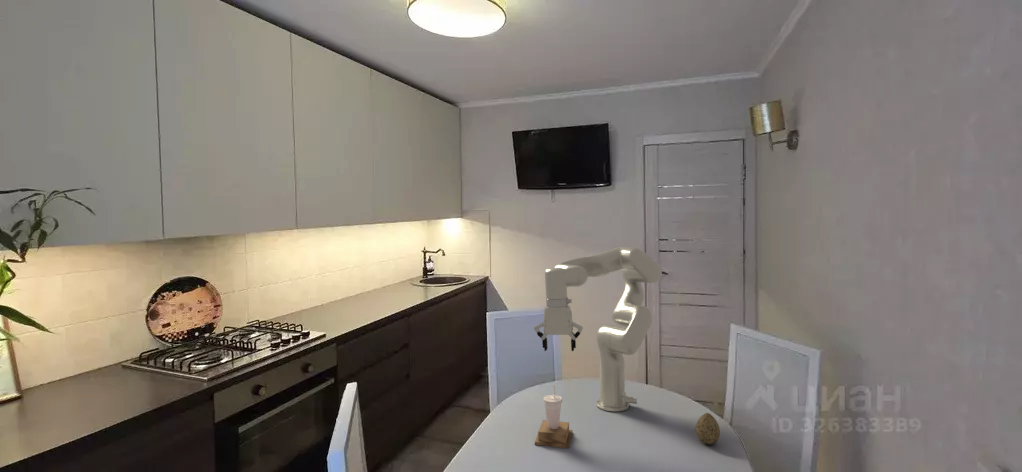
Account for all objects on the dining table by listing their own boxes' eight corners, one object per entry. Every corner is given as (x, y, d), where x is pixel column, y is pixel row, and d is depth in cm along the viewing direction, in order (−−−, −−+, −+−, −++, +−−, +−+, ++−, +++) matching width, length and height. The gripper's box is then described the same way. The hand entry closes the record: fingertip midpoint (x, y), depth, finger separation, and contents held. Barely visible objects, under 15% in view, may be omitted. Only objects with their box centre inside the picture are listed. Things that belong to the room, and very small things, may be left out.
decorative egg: (716, 439, 152) (716, 409, 152) (722, 449, 145) (722, 418, 145) (693, 437, 153) (693, 408, 153) (698, 448, 146) (698, 417, 146)
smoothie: (561, 431, 151) (561, 389, 150) (542, 430, 152) (541, 388, 152) (563, 423, 157) (563, 382, 157) (544, 421, 158) (544, 381, 158)
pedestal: (572, 432, 159) (572, 421, 158) (568, 448, 148) (568, 436, 148) (541, 429, 161) (540, 418, 161) (534, 444, 151) (534, 432, 150)
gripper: (582, 300, 166) (584, 347, 167) (534, 300, 170) (537, 346, 171) (580, 304, 159) (583, 353, 160) (531, 305, 162) (533, 352, 163)
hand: (559, 349), depth 165 cm, fingers open, 9 cm apart
